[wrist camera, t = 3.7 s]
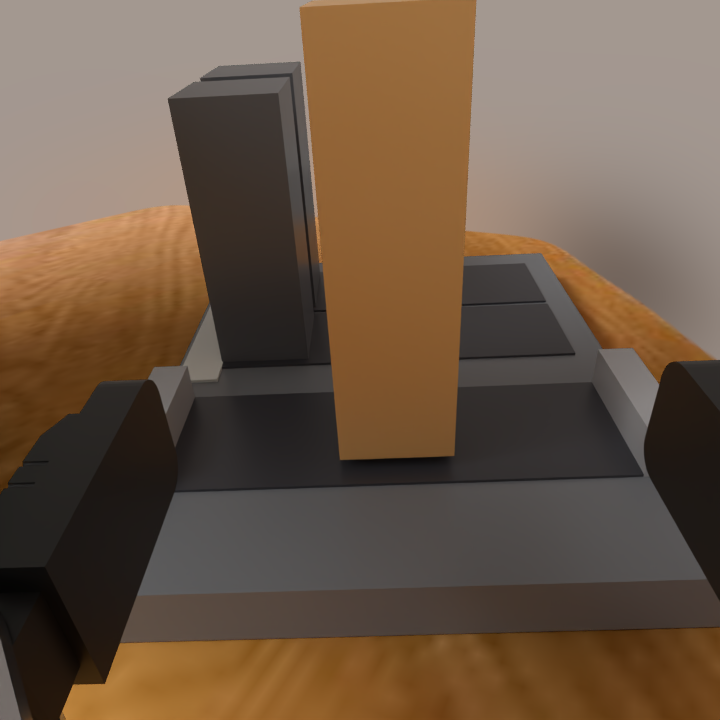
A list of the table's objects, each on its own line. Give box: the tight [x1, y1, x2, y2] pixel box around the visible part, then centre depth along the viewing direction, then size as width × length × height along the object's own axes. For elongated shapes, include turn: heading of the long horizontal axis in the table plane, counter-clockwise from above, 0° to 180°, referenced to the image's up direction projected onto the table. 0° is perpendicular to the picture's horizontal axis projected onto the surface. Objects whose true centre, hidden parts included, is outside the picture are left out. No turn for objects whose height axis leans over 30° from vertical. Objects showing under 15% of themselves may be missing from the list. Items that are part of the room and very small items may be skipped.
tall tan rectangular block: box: [300, 0, 476, 460], centre depth 17 cm, size 4×4×12 cm
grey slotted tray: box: [120, 62, 720, 643], centre depth 21 cm, size 17×20×12 cm
